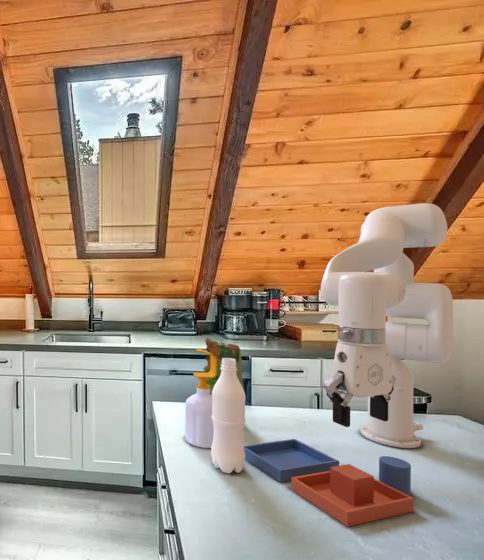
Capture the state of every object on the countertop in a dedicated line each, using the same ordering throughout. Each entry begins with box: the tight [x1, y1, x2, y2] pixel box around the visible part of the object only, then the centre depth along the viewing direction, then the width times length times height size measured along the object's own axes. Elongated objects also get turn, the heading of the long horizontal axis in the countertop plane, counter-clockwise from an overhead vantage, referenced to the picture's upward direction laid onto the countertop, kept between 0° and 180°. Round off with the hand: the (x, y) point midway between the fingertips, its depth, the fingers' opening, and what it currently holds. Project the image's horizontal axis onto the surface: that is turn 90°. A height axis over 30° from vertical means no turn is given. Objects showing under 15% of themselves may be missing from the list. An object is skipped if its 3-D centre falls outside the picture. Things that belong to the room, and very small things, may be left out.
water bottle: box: [210, 358, 247, 474], centre depth 88 cm, size 7×7×25 cm
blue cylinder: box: [378, 455, 412, 497], centre depth 79 cm, size 5×5×6 cm
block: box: [330, 463, 375, 506], centre depth 76 cm, size 5×5×5 cm
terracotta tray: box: [290, 471, 415, 527], centre depth 76 cm, size 16×12×2 cm
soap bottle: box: [184, 347, 217, 449], centre depth 102 cm, size 9×9×25 cm
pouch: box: [203, 337, 246, 427], centre depth 114 cm, size 11×12×25 cm
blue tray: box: [244, 438, 340, 483], centre depth 90 cm, size 16×12×2 cm
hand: (360, 421), depth 76 cm, fingers open, 9 cm apart
